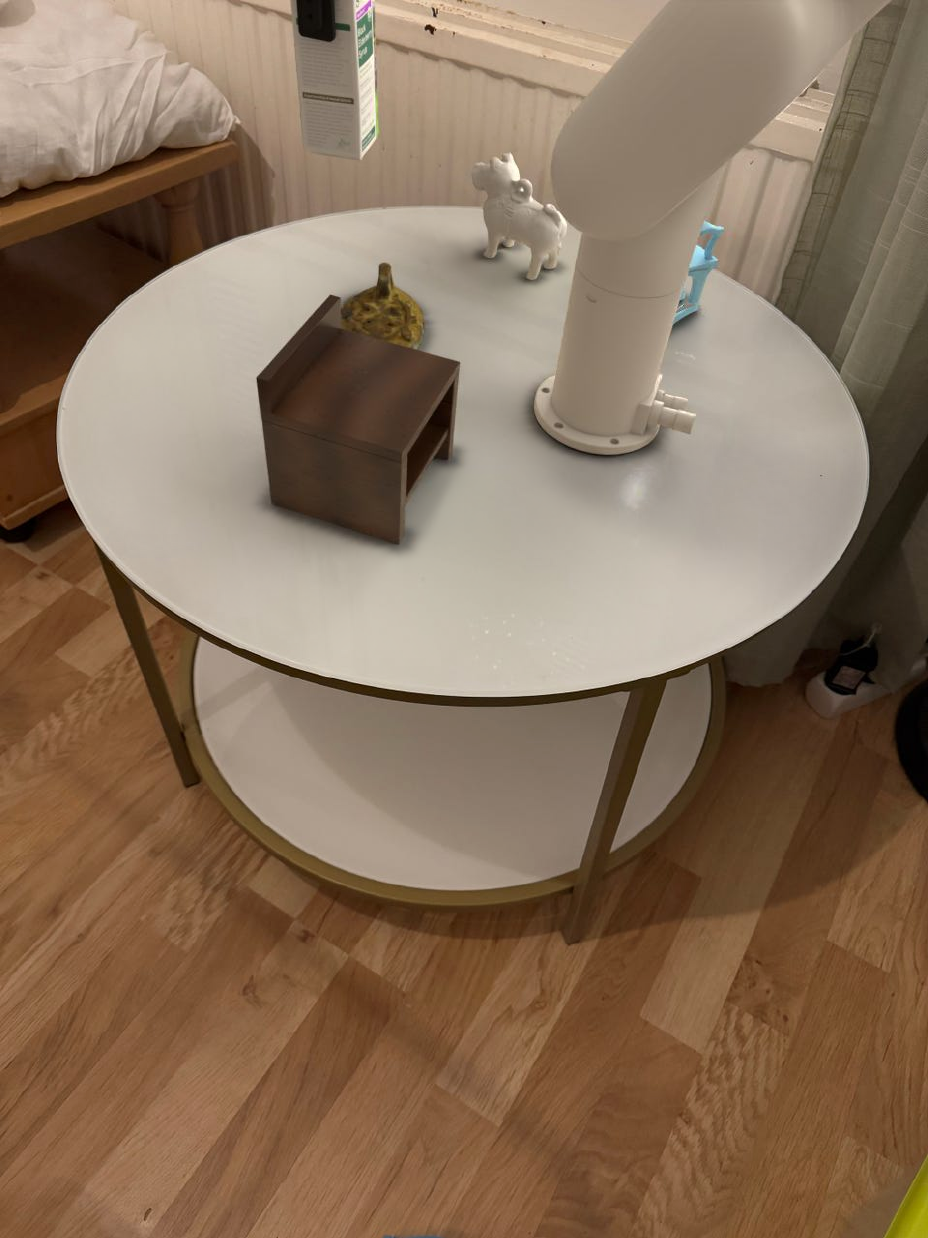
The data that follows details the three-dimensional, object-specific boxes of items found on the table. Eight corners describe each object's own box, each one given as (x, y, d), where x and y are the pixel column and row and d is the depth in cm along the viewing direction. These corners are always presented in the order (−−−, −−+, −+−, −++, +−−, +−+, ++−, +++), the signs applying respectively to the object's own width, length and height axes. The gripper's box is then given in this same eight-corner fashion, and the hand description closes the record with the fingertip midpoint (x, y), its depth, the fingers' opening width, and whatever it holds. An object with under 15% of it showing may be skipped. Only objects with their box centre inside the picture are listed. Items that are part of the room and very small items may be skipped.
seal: (421, 382, 93) (422, 300, 102) (428, 343, 89) (429, 262, 98) (330, 368, 91) (339, 287, 100) (333, 328, 87) (343, 247, 97)
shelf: (452, 453, 84) (463, 330, 74) (399, 544, 76) (403, 420, 66) (335, 418, 86) (330, 293, 76) (270, 503, 78) (255, 377, 68)
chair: (710, 320, 102) (743, 216, 93) (651, 335, 99) (680, 230, 90) (670, 286, 107) (698, 183, 97) (612, 299, 104) (635, 195, 94)
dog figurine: (483, 229, 112) (492, 138, 104) (566, 269, 107) (582, 177, 99) (455, 243, 109) (462, 152, 101) (540, 285, 104) (554, 192, 96)
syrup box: (361, 162, 83) (357, -26, 72) (300, 152, 84) (286, -36, 73) (379, 137, 87) (377, -45, 76) (320, 128, 87) (309, -54, 76)
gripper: (315, -245, 58) (330, 66, 72) (420, -270, 69) (415, 5, 82) (212, -260, 59) (246, 48, 73) (330, -282, 70) (341, -10, 84)
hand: (335, 23), depth 78 cm, fingers closed on syrup box, 6 cm apart
